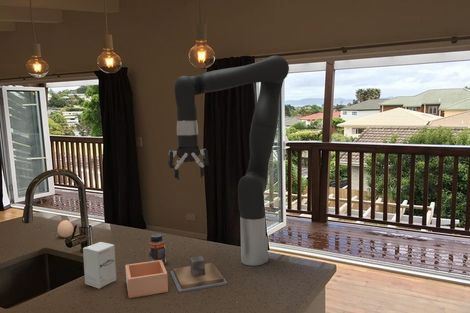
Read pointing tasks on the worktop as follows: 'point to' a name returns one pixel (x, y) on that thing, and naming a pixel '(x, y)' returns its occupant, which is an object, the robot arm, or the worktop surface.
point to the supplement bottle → (157, 248)
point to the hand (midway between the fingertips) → (189, 178)
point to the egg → (65, 228)
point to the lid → (197, 274)
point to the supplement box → (99, 264)
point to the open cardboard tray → (146, 278)
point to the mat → (196, 286)
